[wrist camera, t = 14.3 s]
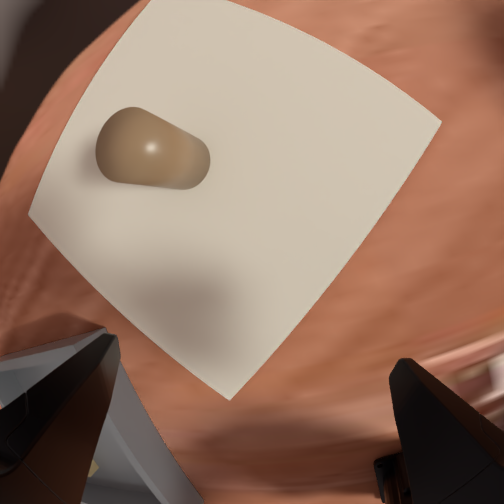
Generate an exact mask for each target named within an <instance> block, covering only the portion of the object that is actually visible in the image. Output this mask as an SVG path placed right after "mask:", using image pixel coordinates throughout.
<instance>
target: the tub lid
mask: <svg viewBox="0 0 504 504" xmlns="http://www.w3.org/2000/svg"><path fill="white" fill-rule="evenodd" d="M441 123H442V121H441V120H439V119H438V118H437V117H436V116H435V115H433V114H432V113H431V112H430V111H428V110H427V109H426V108H425V107H423V106H422V105H421V104H419V103H418V102H417V101H415V100H414V99H413V98H411V97H410V96H409V95H407V94H406V93H405V92H403V91H402V90H400V89H399V88H398V87H396V86H395V85H393V84H392V83H390V82H389V81H388V80H386V79H385V78H383V77H382V76H380V75H379V74H377V73H375V72H374V71H372V70H371V69H369V68H368V67H366V66H364V65H363V64H361V63H360V62H358V61H356V60H355V59H353V58H351V57H349V56H348V55H346V54H344V53H343V52H341V51H339V50H337V49H335V48H334V47H332V46H330V45H328V44H326V43H324V42H322V41H321V40H319V39H317V38H315V37H313V36H311V35H309V34H307V33H305V32H303V31H301V30H298V29H296V28H294V27H292V26H290V25H288V24H285V23H283V22H281V21H279V20H276V19H274V18H272V17H269V16H267V15H264V14H262V13H259V12H257V11H254V10H252V9H249V8H247V7H244V6H241V5H238V4H235V3H233V2H230V1H227V0H151V1H150V2H149V3H148V5H147V6H146V7H145V8H144V9H143V11H142V12H141V13H140V14H139V15H138V17H137V18H136V19H135V20H134V22H133V23H132V24H131V25H130V27H129V28H128V29H127V31H126V32H125V33H124V34H123V36H122V37H121V38H120V40H119V41H118V43H117V44H116V45H115V47H114V48H113V50H112V51H111V52H110V54H109V55H108V57H107V58H106V60H105V61H104V63H103V64H102V66H101V67H100V69H99V70H98V72H97V73H96V75H95V76H94V78H93V79H92V81H91V83H90V84H89V86H88V88H87V89H86V91H85V93H84V94H83V96H82V98H81V99H80V101H79V103H78V105H77V106H76V108H75V110H74V112H73V114H72V115H71V117H70V119H69V121H68V123H67V125H66V127H65V129H64V131H63V133H62V135H61V137H60V139H59V141H58V143H57V145H56V147H55V149H54V151H53V153H52V156H51V158H50V160H49V162H48V164H47V167H46V169H45V171H44V174H43V176H42V179H41V181H40V183H39V186H38V189H37V191H36V194H35V196H34V199H33V202H32V204H31V207H30V210H29V213H28V215H29V217H30V218H31V219H32V220H33V221H34V223H35V224H36V225H37V226H38V227H39V229H40V230H41V231H42V232H43V233H44V234H45V236H46V237H47V238H48V239H49V240H50V241H51V242H52V243H53V245H54V246H55V247H56V248H57V249H58V250H59V251H60V252H61V253H62V255H63V256H64V257H65V258H66V259H67V260H68V261H69V262H70V263H71V264H72V265H73V266H74V267H75V268H76V269H77V271H78V272H79V273H80V274H81V275H82V276H83V277H84V278H85V279H86V280H87V281H88V282H89V283H90V284H91V285H92V286H93V287H94V288H95V289H96V290H97V291H98V292H99V293H100V294H101V295H102V296H103V297H104V298H105V299H107V300H108V301H109V302H110V303H111V304H112V305H113V306H114V307H115V308H116V309H117V310H118V311H119V312H120V313H121V314H123V315H124V316H125V317H126V318H127V319H128V320H129V321H130V322H131V323H132V324H134V325H135V326H136V327H137V328H138V329H139V330H140V331H141V332H143V333H144V334H145V335H146V336H147V337H148V338H150V339H151V340H152V341H153V342H154V343H155V344H157V345H158V346H159V347H160V348H161V349H163V350H164V351H165V352H166V353H167V354H169V355H170V356H171V357H172V358H174V359H175V360H176V361H177V362H179V363H180V364H181V365H182V366H184V367H185V368H186V369H187V370H189V371H190V372H191V373H193V374H194V375H195V376H197V377H198V378H199V379H200V380H202V381H203V382H204V383H206V384H207V385H208V386H210V387H211V388H213V389H214V390H215V391H217V392H218V393H219V394H221V395H222V396H224V397H225V398H226V399H228V400H229V401H230V400H231V399H232V397H233V396H234V395H235V394H236V393H237V392H238V391H239V390H240V389H241V388H242V387H243V386H244V385H245V384H246V382H247V381H248V380H249V379H250V378H251V377H252V376H253V375H254V374H255V373H256V372H257V370H258V369H259V368H260V367H261V366H262V365H263V364H264V363H265V361H266V360H267V359H268V358H269V357H270V356H271V355H272V354H273V352H274V351H275V350H276V349H277V348H278V347H279V346H280V344H281V343H282V342H283V341H284V340H285V339H286V337H287V336H288V335H289V334H290V333H291V331H292V330H293V329H294V328H295V327H296V326H297V324H298V323H299V322H300V321H301V320H302V318H303V317H304V316H305V315H306V314H307V312H308V311H309V310H310V309H311V307H312V306H313V305H314V304H315V303H316V301H317V300H318V299H319V298H320V296H321V295H322V294H323V293H324V291H325V290H326V289H327V288H328V286H329V285H330V284H331V282H332V281H333V280H334V279H335V277H336V276H337V275H338V273H339V272H340V271H341V270H342V268H343V267H344V266H345V264H346V263H347V262H348V260H349V259H350V258H351V256H352V255H353V254H354V252H355V251H356V250H357V248H358V247H359V246H360V244H361V243H362V242H363V240H364V239H365V238H366V236H367V235H368V233H369V232H370V231H371V229H372V228H373V226H374V225H375V224H376V222H377V221H378V219H379V218H380V217H381V215H382V214H383V212H384V211H385V210H386V208H387V207H388V205H389V204H390V202H391V201H392V199H393V198H394V197H395V195H396V194H397V192H398V191H399V189H400V188H401V186H402V185H403V183H404V182H405V180H406V179H407V177H408V176H409V174H410V173H411V171H412V170H413V168H414V166H415V165H416V163H417V162H418V160H419V159H420V157H421V156H422V154H423V152H424V151H425V149H426V148H427V146H428V144H429V143H430V141H431V140H432V138H433V136H434V135H435V133H436V131H437V130H438V128H439V126H440V125H441Z"/></svg>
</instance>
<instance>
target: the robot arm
mask: <svg viewBox="0 0 504 504" xmlns="http://www.w3.org/2000/svg"><path fill="white" fill-rule="evenodd" d="M119 363H120V348H119V342H118V337H117V335H115V334H110V333H103V334H101V335H100V336H99V337H97V338H96V339H94V340H93V341H92V342H90V343H89V344H88V345H86V346H85V347H84V348H82V349H81V350H80V351H78V352H77V353H76V354H74V355H73V356H72V357H70V358H69V359H68V360H66V361H65V362H64V363H62V364H61V365H60V366H58V367H57V368H56V369H54V370H53V371H52V372H50V373H49V374H48V375H46V376H45V377H44V378H42V379H41V380H40V381H38V382H37V383H36V384H34V385H33V386H32V387H30V388H29V389H28V390H27V391H26V393H25V392H24V393H22V394H21V395H20V396H19V397H17V398H16V399H15V400H13V401H12V402H10V403H9V404H8V405H6V406H5V407H3V408H2V409H0V504H81V500H82V496H83V492H84V489H85V485H86V481H87V478H88V474H89V470H90V467H91V464H92V460H93V457H94V453H95V450H96V447H97V444H98V440H99V437H100V434H101V431H102V428H103V425H104V422H105V419H106V416H107V413H108V410H109V406H110V403H111V399H112V394H113V390H114V385H115V381H116V376H117V372H118V367H119ZM389 385H390V391H391V397H392V403H393V410H394V416H395V421H396V426H397V430H398V434H399V438H400V442H401V447H402V451H403V452H400V453H397V454H394V455H390V456H387V457H384V458H380V459H377V460H376V461H375V462H374V469H375V473H376V477H377V482H378V486H379V491H380V495H381V500H382V502H383V503H385V504H504V431H502V430H501V429H499V428H498V427H497V426H495V425H494V424H493V423H491V422H490V421H489V420H488V419H486V418H485V417H484V416H483V415H481V414H479V412H478V411H476V410H475V409H474V408H473V407H472V406H470V405H469V404H468V403H467V402H465V401H464V400H463V399H462V398H460V397H459V396H458V395H457V394H455V393H454V392H453V391H452V390H450V389H449V388H448V387H447V386H445V385H444V384H443V383H442V382H440V381H439V380H438V379H437V378H435V377H434V376H433V375H432V374H430V373H429V372H428V371H427V370H425V369H424V368H423V367H421V366H420V365H419V364H418V363H416V362H415V361H414V360H413V359H411V358H401V359H399V360H398V362H397V363H396V365H395V367H394V368H393V370H392V372H391V373H390V376H389ZM378 464H379V465H378Z"/></svg>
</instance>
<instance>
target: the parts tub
mask: <svg viewBox="0 0 504 504" xmlns="http://www.w3.org/2000/svg"><path fill="white" fill-rule="evenodd" d="M103 333H107V330H106V328H101V329H98V330H94V331H91V332H87V333H84V334H80V335H77V336H73V337H70V338H66V339H62V340H59V341H55V342H51V343H48V344H44V345H40V346H37V347H33V348H29V349H26V350H22V351H18V352H14V353H10V354H6V355H3V356H1V357H0V405H1V407H2V408H3V407H5V406H6V405H8V404H9V403H10V402H12V401H13V400H15V399H16V398H17V397H19V396H20V395H21V394H22V393H24V392H25V393H26V391H27V390H28V389H29V388H30V387H32V386H33V385H34V384H36V383H37V382H38V381H40V380H41V379H42V378H44V377H45V376H46V375H48V374H49V373H50V372H52V371H53V370H54V369H56V368H57V367H58V366H60V365H61V364H62V363H64V362H65V361H66V360H68V359H69V358H70V357H72V356H73V355H74V354H76V353H77V352H78V351H80V350H81V349H82V348H84V347H85V346H86V345H88V344H89V343H90V342H92V341H93V340H94V339H96V338H97V337H99V336H100V335H101V334H103ZM203 503H204V500H203V499H202V497H201V496H200V495H199V493H198V492H197V491H196V489H195V488H194V486H193V485H192V484H191V482H190V481H189V479H188V478H187V477H186V475H185V474H184V472H183V471H182V469H181V468H180V466H179V465H178V463H177V462H176V460H175V459H174V457H173V456H172V454H171V452H170V451H169V449H168V448H167V446H166V444H165V443H164V441H163V440H162V438H161V436H160V435H159V433H158V431H157V430H156V428H155V426H154V424H153V423H152V421H151V419H150V417H149V416H148V414H147V412H146V410H145V409H144V407H143V405H142V403H141V401H140V399H139V397H138V396H137V394H136V392H135V390H134V388H133V386H132V384H131V382H130V380H129V378H128V376H127V374H126V372H125V370H124V368H123V366H122V364H121V362H120V363H119V367H118V372H117V376H116V381H115V385H114V390H113V394H112V399H111V403H110V406H109V410H108V413H107V416H106V419H105V422H104V425H103V428H102V431H101V434H100V437H99V440H98V444H97V447H96V450H95V453H94V457H93V460H92V464H91V467H90V470H89V474H88V478H87V481H86V485H85V489H84V492H83V496H82V500H81V504H203Z"/></svg>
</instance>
